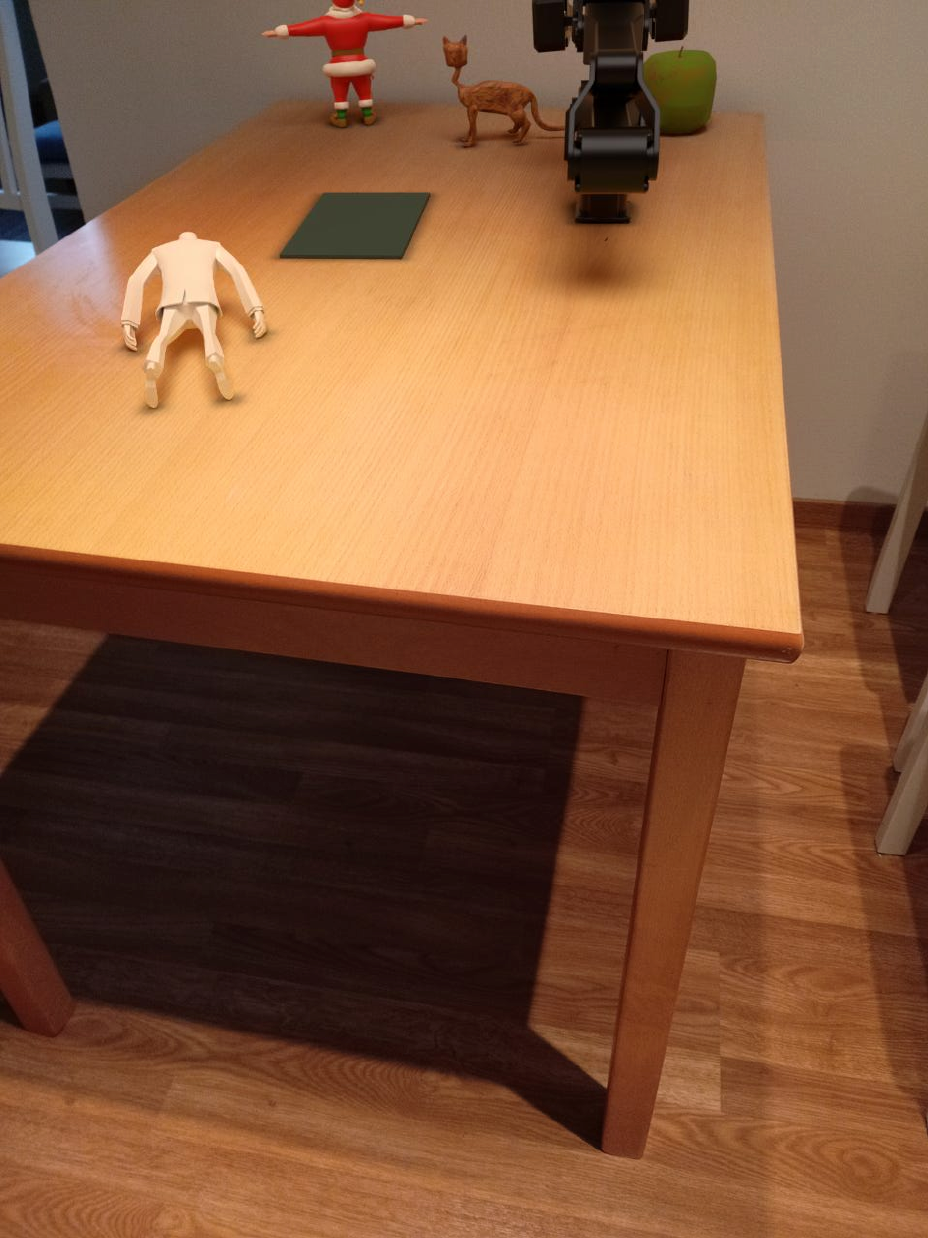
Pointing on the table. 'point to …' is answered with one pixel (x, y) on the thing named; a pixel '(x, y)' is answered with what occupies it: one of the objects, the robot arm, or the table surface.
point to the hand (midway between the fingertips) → (608, 9)
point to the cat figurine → (492, 97)
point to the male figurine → (187, 303)
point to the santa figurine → (347, 51)
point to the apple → (681, 88)
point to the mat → (358, 226)
